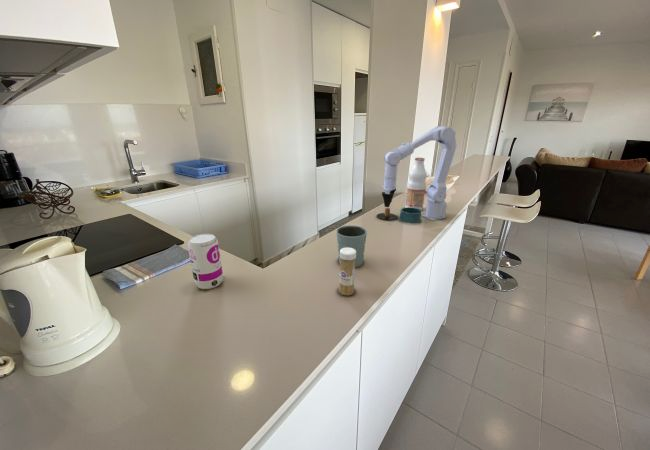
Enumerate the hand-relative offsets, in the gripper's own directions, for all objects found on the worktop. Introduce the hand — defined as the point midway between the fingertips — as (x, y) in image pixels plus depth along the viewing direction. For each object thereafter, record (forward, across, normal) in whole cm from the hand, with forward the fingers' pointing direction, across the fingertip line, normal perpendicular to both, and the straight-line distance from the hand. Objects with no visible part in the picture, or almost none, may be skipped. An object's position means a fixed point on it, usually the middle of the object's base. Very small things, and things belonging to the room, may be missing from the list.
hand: (387, 204), depth 138 cm
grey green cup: (+7, +51, -6) cm, 52 cm away
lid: (+7, 0, 0) cm, 7 cm away
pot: (+7, 0, +11) cm, 13 cm away
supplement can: (+8, +78, -43) cm, 90 cm away
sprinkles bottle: (+7, +68, -2) cm, 69 cm away
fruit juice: (+7, -21, +12) cm, 25 cm away
